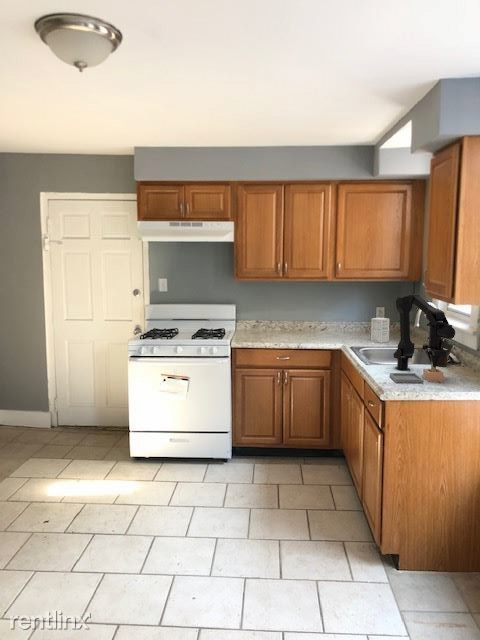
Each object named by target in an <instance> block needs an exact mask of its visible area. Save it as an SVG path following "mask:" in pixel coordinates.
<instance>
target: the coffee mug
mask: <svg viewBox="0 0 480 640" xmlns="http://www.w3.org/2000/svg"><path fill="white" fill-rule="evenodd" d="M443 349H444V350H446V351H447V356H441V357H440V358H439V360H438V363H437V365H436V368H438V367H439V368H447V366H448V361H449V356H450V351H449V350H447V349H445V348H443Z"/></svg>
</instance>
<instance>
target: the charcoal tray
mask: <svg viewBox="0 0 480 640" xmlns="http://www.w3.org/2000/svg"><path fill="white" fill-rule="evenodd" d="M389 378H390V379H391V380H392V381H393V383H395V384H414V385H415V384H417V385H419V384H421V385H422V384H423V385H424V380H425V379H424V378H423V377H421V376H420V375H418V374H417V373H416V372H412V373H411V372H389Z"/></svg>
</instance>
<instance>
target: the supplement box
mask: <svg viewBox="0 0 480 640" xmlns="http://www.w3.org/2000/svg"><path fill="white" fill-rule="evenodd" d="M370 327H371V328H370V329H371V330H370V342H373V343H380V344H384V343H387V342H390V318H388V317H387V318H386V317H373V318H371V326H370Z"/></svg>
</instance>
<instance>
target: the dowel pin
mask: <svg viewBox="0 0 480 640" xmlns="http://www.w3.org/2000/svg"><path fill="white" fill-rule="evenodd" d="M430 369H431V372H436V369H437V366H436V367H433V364H432V361H431V363H430Z"/></svg>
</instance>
